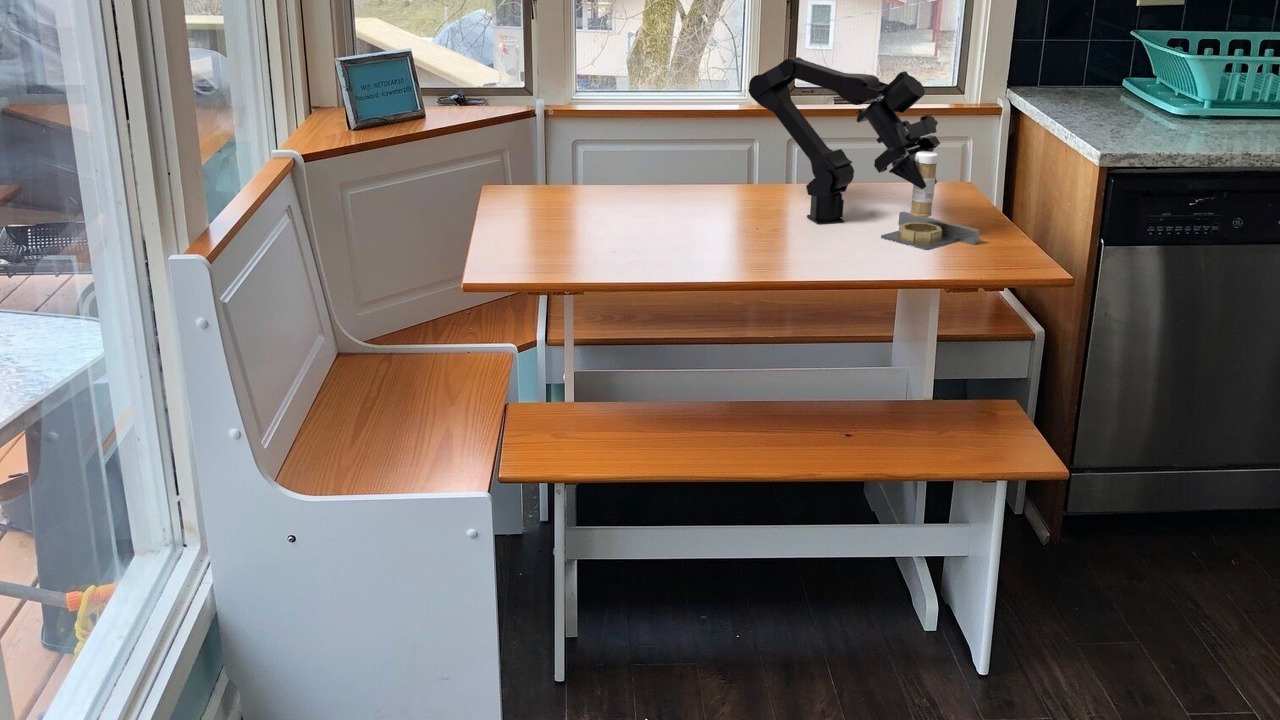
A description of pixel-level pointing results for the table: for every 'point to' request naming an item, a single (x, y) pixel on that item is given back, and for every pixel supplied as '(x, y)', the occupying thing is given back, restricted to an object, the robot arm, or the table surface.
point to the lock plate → (930, 232)
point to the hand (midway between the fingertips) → (929, 186)
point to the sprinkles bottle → (925, 196)
